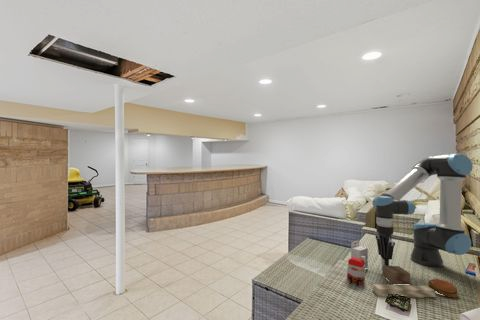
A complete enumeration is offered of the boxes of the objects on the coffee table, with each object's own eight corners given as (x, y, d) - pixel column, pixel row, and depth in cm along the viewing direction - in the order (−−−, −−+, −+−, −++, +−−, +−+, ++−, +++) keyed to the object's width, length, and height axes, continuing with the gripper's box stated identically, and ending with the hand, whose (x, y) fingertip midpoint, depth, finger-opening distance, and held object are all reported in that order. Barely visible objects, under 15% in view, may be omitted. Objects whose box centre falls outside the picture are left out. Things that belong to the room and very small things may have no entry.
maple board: (427, 292, 98) (427, 285, 99) (435, 297, 94) (435, 290, 95) (373, 291, 99) (373, 284, 99) (378, 296, 95) (378, 288, 95)
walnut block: (399, 278, 112) (398, 266, 113) (410, 286, 104) (410, 273, 105) (382, 277, 113) (382, 265, 113) (392, 285, 105) (392, 272, 105)
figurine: (344, 281, 107) (344, 256, 108) (349, 276, 112) (349, 252, 113) (364, 287, 101) (363, 261, 102) (368, 282, 107) (368, 257, 107)
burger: (463, 299, 94) (463, 287, 94) (441, 298, 94) (440, 287, 95) (443, 287, 104) (442, 277, 104) (423, 286, 104) (422, 276, 104)
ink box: (360, 272, 117) (359, 244, 118) (350, 269, 121) (350, 241, 122) (368, 269, 122) (367, 242, 123) (359, 266, 126) (358, 239, 127)
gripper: (370, 222, 124) (371, 265, 123) (385, 228, 111) (385, 276, 110) (384, 223, 124) (384, 266, 123) (400, 228, 111) (401, 277, 110)
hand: (385, 271), depth 116 cm, fingers closed
